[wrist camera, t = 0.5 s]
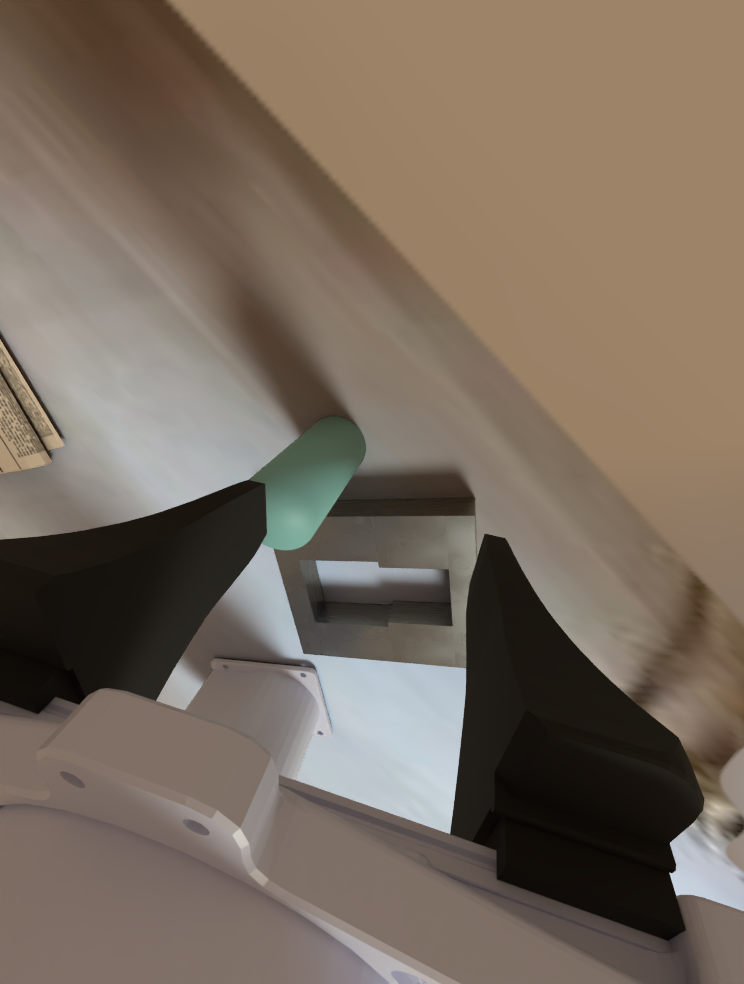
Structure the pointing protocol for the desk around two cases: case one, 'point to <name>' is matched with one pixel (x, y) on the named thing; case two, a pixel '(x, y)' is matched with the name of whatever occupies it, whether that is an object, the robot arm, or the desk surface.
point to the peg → (309, 480)
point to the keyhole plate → (393, 544)
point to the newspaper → (22, 422)
